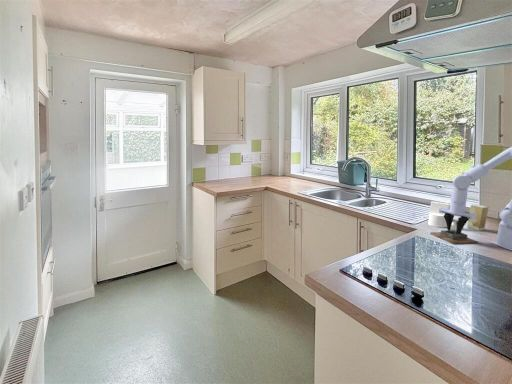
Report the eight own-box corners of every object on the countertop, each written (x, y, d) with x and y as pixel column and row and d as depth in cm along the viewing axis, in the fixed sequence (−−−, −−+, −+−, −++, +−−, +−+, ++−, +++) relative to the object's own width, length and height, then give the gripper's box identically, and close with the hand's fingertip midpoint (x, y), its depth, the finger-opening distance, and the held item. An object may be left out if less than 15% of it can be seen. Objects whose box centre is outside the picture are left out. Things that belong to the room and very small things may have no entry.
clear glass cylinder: (459, 235, 138) (462, 220, 136) (456, 237, 136) (458, 222, 134) (451, 233, 140) (453, 219, 139) (447, 234, 138) (449, 220, 137)
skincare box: (466, 227, 156) (469, 204, 154) (472, 226, 158) (475, 204, 156) (479, 231, 150) (483, 207, 148) (485, 230, 152) (488, 206, 150)
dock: (477, 243, 132) (478, 237, 132) (453, 244, 131) (454, 238, 130) (453, 233, 146) (453, 227, 145) (430, 234, 144) (431, 228, 144)
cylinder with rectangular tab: (425, 224, 160) (428, 202, 158) (431, 222, 166) (434, 200, 164) (444, 228, 154) (447, 205, 152) (450, 225, 160) (453, 203, 158)
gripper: (480, 204, 131) (476, 234, 134) (445, 198, 143) (441, 225, 146) (473, 205, 128) (469, 236, 130) (438, 199, 139) (434, 228, 142)
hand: (454, 231), depth 138 cm, fingers closed on clear glass cylinder, 4 cm apart
